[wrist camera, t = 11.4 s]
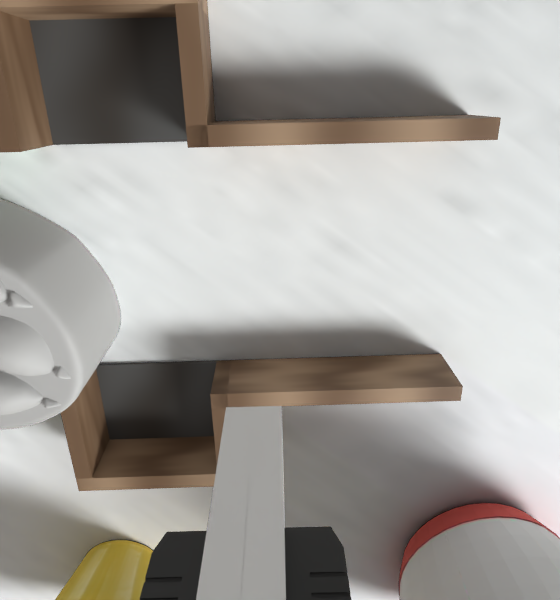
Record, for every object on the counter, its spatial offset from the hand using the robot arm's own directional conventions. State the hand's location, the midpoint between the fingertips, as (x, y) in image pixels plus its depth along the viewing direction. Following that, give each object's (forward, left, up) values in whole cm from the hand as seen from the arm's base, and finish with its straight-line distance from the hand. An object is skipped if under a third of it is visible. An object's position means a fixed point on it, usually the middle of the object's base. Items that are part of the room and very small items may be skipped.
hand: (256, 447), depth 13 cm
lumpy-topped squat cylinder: (+15, +2, -18) cm, 24 cm away
